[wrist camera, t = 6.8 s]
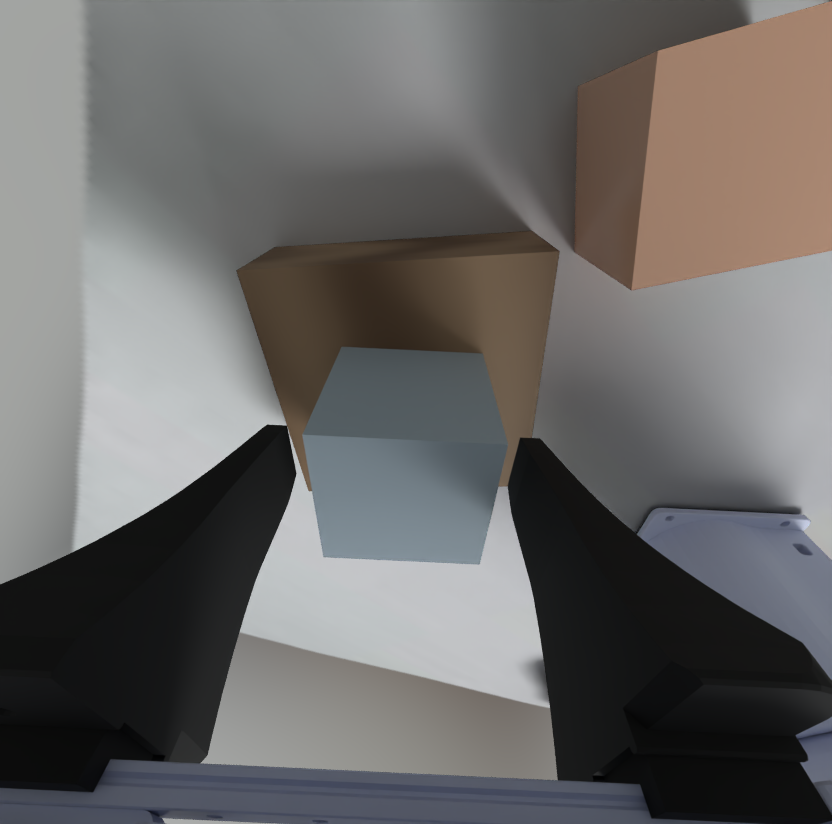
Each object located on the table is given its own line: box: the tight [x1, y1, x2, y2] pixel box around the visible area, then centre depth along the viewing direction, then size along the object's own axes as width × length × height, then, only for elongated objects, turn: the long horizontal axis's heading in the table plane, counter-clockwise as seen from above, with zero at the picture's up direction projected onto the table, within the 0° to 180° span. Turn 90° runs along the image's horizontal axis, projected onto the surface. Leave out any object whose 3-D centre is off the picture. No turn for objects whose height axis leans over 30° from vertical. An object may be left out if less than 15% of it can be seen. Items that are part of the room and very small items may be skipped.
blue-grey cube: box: [302, 347, 508, 564], centre depth 12 cm, size 5×5×5 cm
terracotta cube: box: [574, 1, 832, 290], centre depth 11 cm, size 5×5×5 cm
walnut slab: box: [236, 231, 560, 491], centre depth 16 cm, size 10×10×4 cm
